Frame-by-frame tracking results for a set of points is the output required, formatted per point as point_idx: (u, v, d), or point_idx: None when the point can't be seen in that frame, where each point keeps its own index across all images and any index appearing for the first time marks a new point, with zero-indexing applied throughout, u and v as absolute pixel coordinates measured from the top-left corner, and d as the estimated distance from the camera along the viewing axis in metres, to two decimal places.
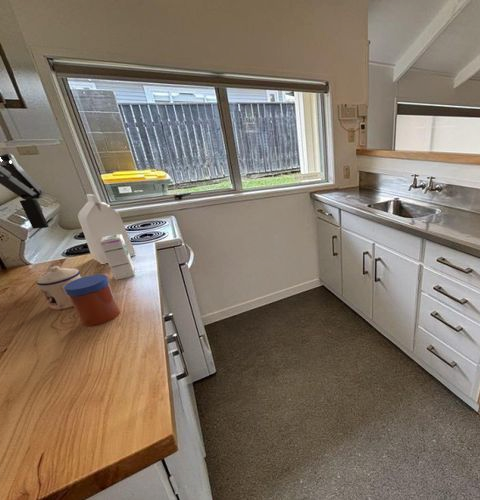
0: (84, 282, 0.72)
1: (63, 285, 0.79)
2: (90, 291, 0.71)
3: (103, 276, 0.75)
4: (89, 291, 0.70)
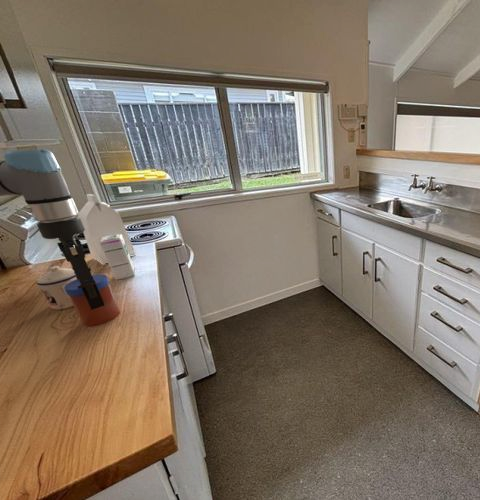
0: None
1: (63, 285, 0.79)
2: None
3: (103, 276, 0.75)
4: None
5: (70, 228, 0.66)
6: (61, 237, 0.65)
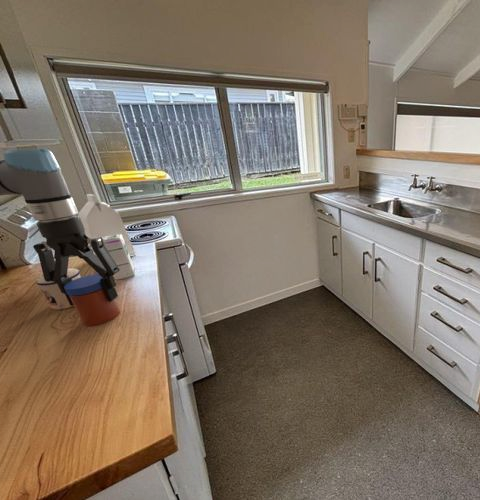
0: (86, 281, 0.72)
1: None
2: None
3: (95, 274, 0.76)
4: None
5: (81, 224, 0.69)
6: (78, 232, 0.67)
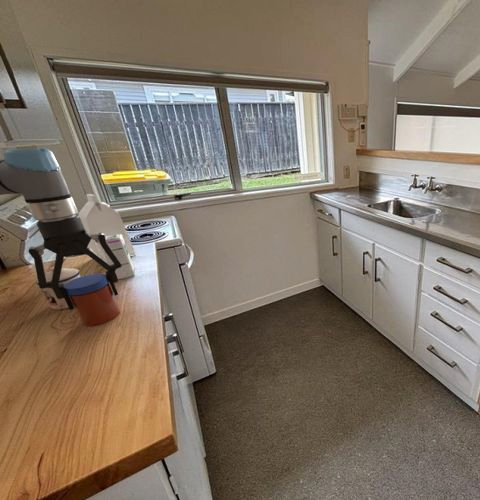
0: (87, 280, 0.73)
1: None
2: None
3: (84, 276, 0.75)
4: None
5: None
6: (84, 229, 0.69)
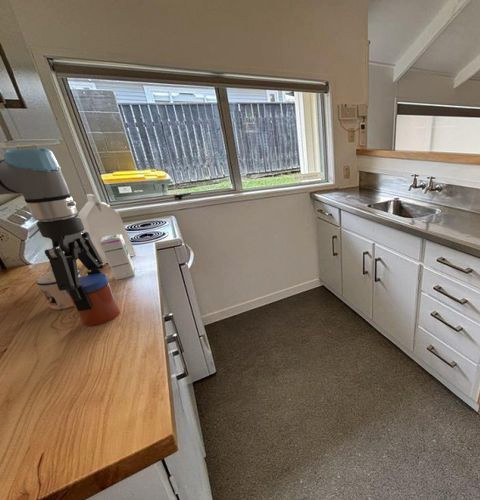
0: (88, 279, 0.73)
1: None
2: None
3: None
4: None
5: None
6: None
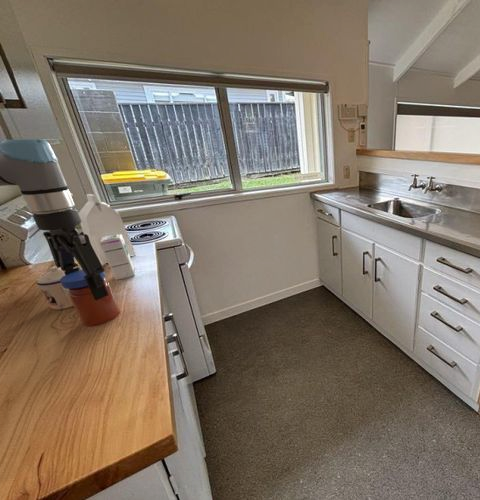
0: (83, 273, 0.72)
1: None
2: None
3: (65, 280, 0.69)
4: None
5: None
6: None
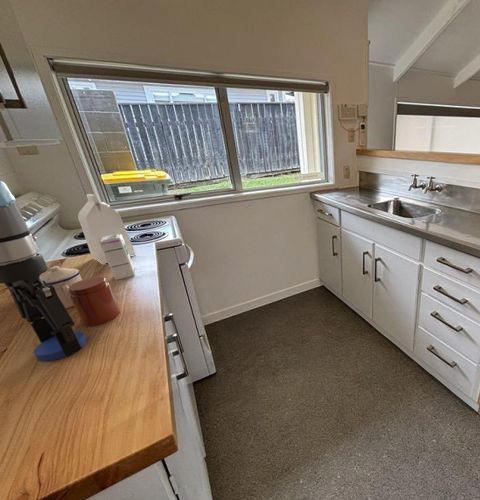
0: None
1: (63, 285, 0.79)
2: None
3: (39, 352, 0.62)
4: None
5: None
6: None
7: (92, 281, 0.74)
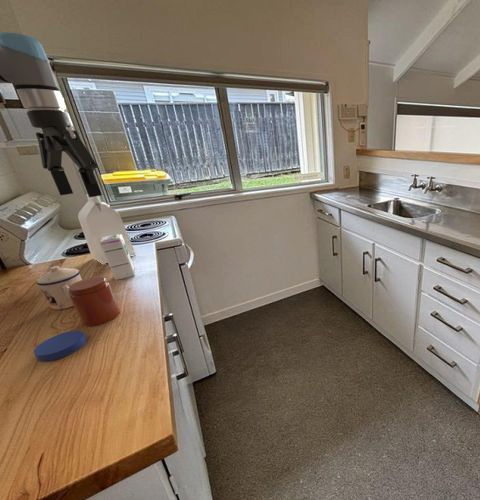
0: (60, 340, 0.65)
1: (63, 285, 0.79)
2: None
3: (39, 352, 0.62)
4: None
5: None
6: None
7: (92, 281, 0.74)
